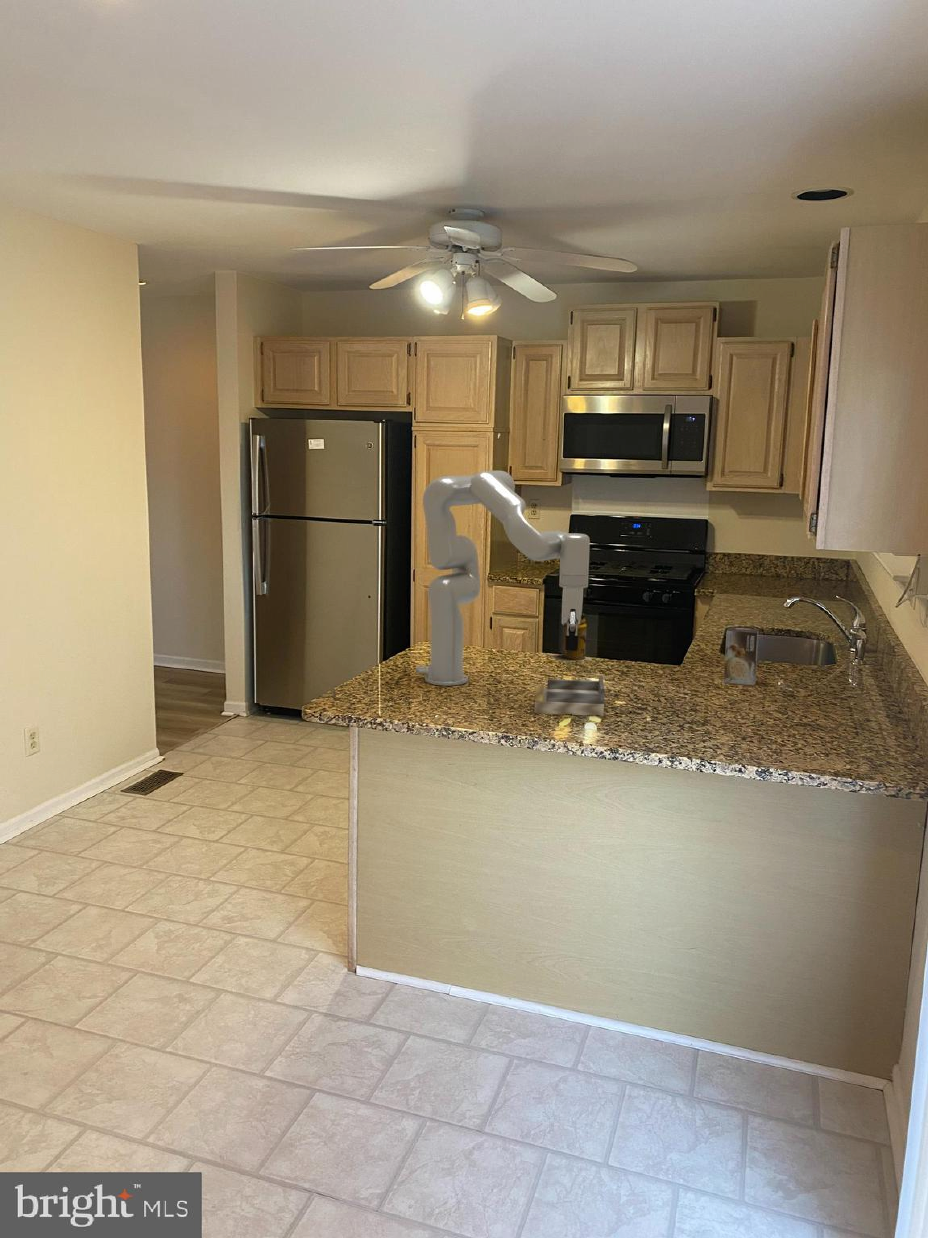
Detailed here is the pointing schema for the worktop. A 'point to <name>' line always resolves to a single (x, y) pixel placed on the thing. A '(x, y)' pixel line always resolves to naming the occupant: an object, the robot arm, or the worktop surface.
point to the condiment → (580, 653)
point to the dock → (570, 697)
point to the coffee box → (741, 656)
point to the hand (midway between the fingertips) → (571, 646)
